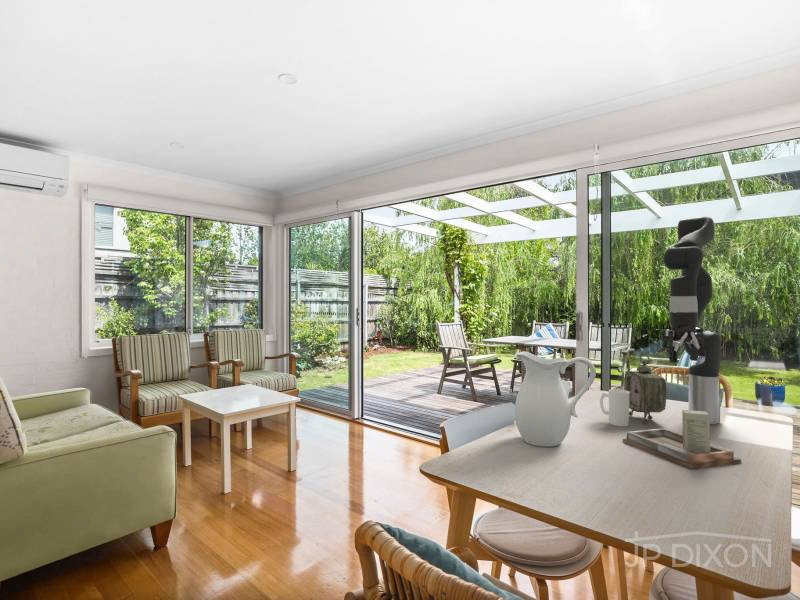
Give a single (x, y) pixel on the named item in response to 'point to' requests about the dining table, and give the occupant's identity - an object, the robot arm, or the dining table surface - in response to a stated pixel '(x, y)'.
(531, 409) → the pitcher
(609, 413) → the mug
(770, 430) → the dining table surface
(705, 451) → the skincare box
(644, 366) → the tabletop clock
